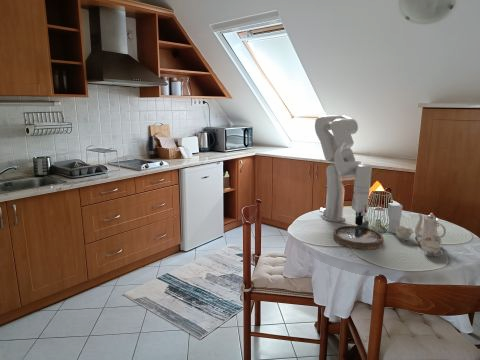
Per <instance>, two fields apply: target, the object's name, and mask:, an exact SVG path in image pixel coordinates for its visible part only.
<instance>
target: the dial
mask: <svg viewBox="0 0 480 360" xmlns="http://www.w3.org/2000/svg"><path fill="white" fill-rule="evenodd" d="M369 222H370V219H365V220H363V223H361V224H359V225H355V226H356V228H344V229H341V230H339V231H338V232H337V235H338V236H340V237H341V238H343V239H346V240H350V241H353V242H362V243H370V242H377V241H378V239H380V238H379V236H378V235H377V234H376V233H374V232H371V231H368V228H369Z"/></svg>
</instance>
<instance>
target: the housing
mask: <svg viewBox="0 0 480 360" xmlns="http://www.w3.org/2000/svg"><path fill="white" fill-rule="evenodd" d="M356 226H357V225H342V226H339V227H336V228H334V229H333V235H332V239H333V242H335V243H337V244H339V245H341V246H343V247H345V248H350V249H354V250H360V251H372V250H373V251H374V250H378V249H379V248H381V247H383V246H384V239H385V238H384V236H383V234H382V233H381V232H379V231H377V230H375V229H373V228H369V227H368V231H371V232H374V233H376V234H377V235H378V236H379V238H380V239H378V241H377V242H370V243H362V242H353V241H350V240H346V239H343V238H341V237H340V236H338V235H337V232H338V231H339V230H341V229H344V228H356Z"/></svg>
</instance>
